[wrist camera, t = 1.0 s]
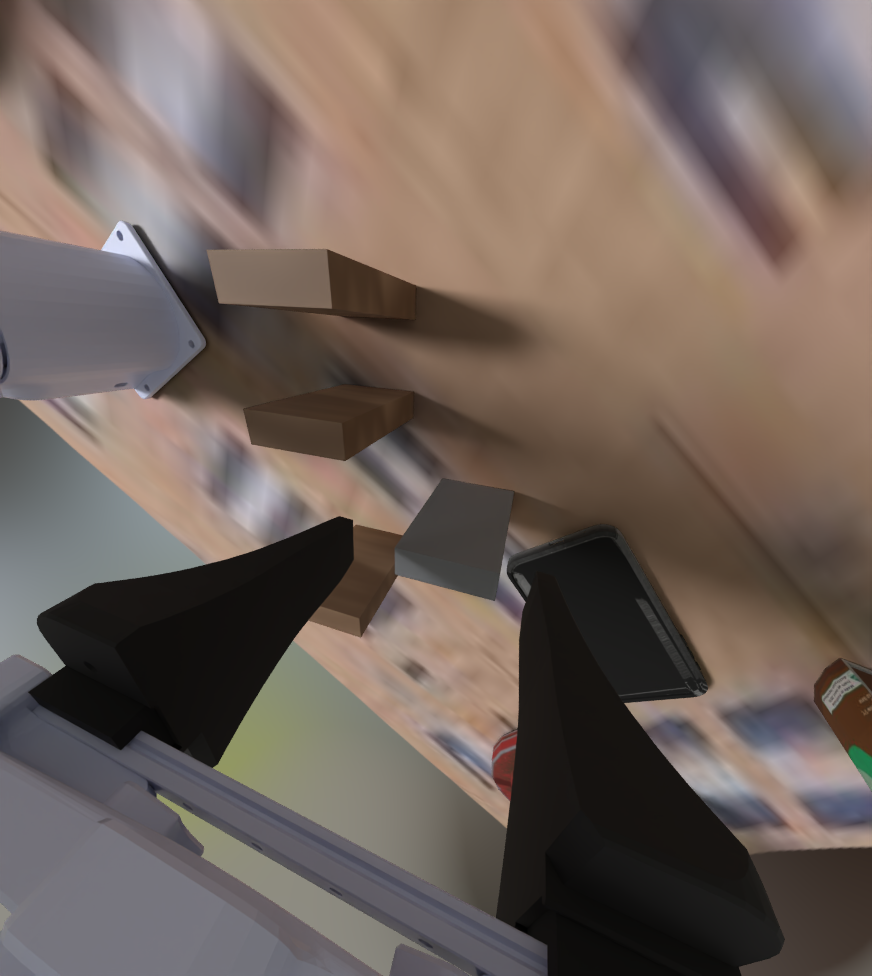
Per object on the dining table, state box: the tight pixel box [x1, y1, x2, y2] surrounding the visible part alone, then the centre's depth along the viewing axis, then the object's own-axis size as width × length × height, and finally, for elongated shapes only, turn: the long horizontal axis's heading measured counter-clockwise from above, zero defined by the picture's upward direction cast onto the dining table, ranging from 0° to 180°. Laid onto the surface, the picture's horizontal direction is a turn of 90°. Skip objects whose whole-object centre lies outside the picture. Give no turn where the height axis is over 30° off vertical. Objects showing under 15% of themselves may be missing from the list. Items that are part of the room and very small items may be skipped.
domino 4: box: [395, 479, 514, 601], centre depth 17 cm, size 2×5×8 cm, turn 87°
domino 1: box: [207, 249, 416, 320], centre depth 14 cm, size 2×5×8 cm, turn 87°
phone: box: [507, 524, 708, 703], centre depth 22 cm, size 8×1×15 cm
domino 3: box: [309, 525, 403, 637], centre depth 21 cm, size 2×5×8 cm, turn 87°
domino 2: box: [243, 384, 414, 461], centre depth 16 cm, size 2×5×8 cm, turn 87°
